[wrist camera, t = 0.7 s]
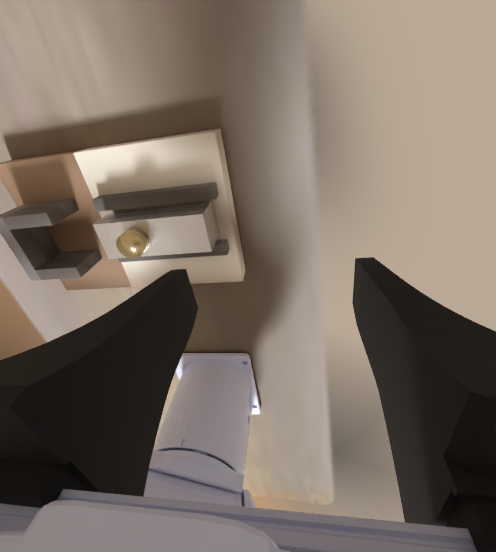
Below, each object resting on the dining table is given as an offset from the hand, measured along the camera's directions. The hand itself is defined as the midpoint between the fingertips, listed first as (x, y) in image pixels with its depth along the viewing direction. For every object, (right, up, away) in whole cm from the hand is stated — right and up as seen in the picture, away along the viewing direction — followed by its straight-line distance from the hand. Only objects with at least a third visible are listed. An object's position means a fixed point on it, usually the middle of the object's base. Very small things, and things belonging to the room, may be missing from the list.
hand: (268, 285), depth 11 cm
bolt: (-6, +4, +8) cm, 11 cm away
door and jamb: (-9, +5, +10) cm, 14 cm away
